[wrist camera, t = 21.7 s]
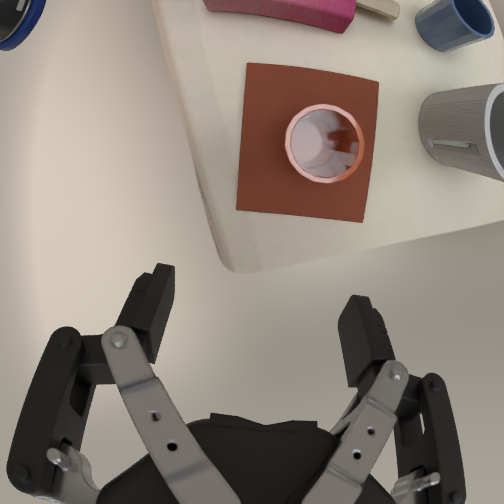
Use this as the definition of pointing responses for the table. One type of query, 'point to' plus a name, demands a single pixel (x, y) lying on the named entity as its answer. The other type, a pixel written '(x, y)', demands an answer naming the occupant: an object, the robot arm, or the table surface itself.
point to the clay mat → (270, 153)
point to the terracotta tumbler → (323, 143)
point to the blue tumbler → (454, 23)
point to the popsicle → (308, 10)
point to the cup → (466, 128)
